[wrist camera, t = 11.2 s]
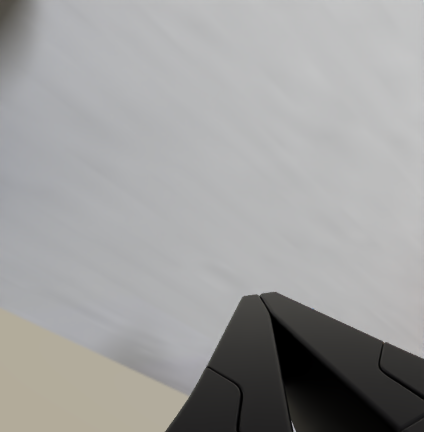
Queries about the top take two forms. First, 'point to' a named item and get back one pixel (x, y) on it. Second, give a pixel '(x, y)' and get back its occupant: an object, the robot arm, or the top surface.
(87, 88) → the top surface
